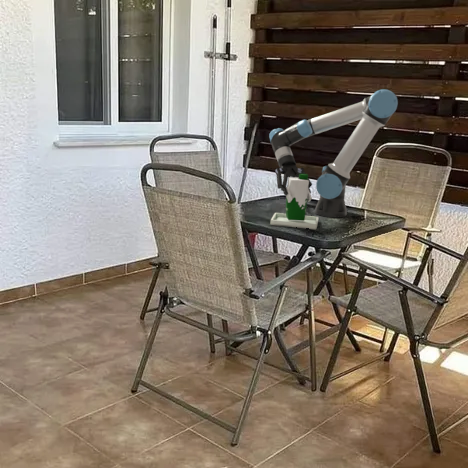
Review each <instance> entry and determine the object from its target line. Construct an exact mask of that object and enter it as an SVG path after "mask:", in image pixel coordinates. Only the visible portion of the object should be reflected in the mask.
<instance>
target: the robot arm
mask: <svg viewBox="0 0 468 468" xmlns="http://www.w3.org/2000/svg"><path fill="white" fill-rule="evenodd" d="M398 105H399V100H398V97H397V95H396V94H395V92H394V91H392V90H389V89H387V88H386V89H384V88H382V89H379V90H376V91H375V92H374V93H373V94H371V95H370V96H368V97H364V99H363V100H362V101H360V102H357V103H354V104H350V105H347V106H344V107H342V108H339V109H337V110H333V111H331V112H328V113H325V114H322V115H319V116H318V115H317V116H315V117H313V118H310V119H308V120H307V119H302V120H300V121H298V122H296V123H294V124H293V125H291V126H290V127H287V128H286V129H283V128H280V127H278V128H274V129H272V130H271V131H270V133H269V136H268V137H269V141H270V145H271V147H272V150H273V153H274V155H275V158H276V160H277V165H278V167H276V169H275V174H276V183H277V185H276V186H277V189H280V191H281V192H283V195H284V196H285V197H287V200H288V203H290V202H291V201H292V196H291V193H290V191H289V188H288V187H287V185H288V178H289V177H299V174H307V173H306V172H305V169H304V167H300V168H298V166H297V164H296V160H295V158H294V157H295V156H294V154H293V152H292V149H291V146H292V145H294V144H295V143H298V142H299V141H300V142H301V141H302V140H304V139H306V138H309V137H312V136H315V135H318V134H321V133H323V132H327V131H329V130H332V129H336V128H339V127H342V126H345V125H348V124H351V123H354V122H356V121H359V122H358V124H357V126H356V127H355V128H354V130H353V132H352V133H351V135H350V136H349V137H348V139H347V141H346V142H345V143H344V145H343V147H342V149H341V150H340V151H339V153H338V155H337V156H336V158H335V160H334V161H333V162H331V163H328V165H325V166H323V167H322V170H321V175H320V176H319V177H318V178H317V180H316V183H315V185H316V186H315V188H316V191H317V193H318V195H319V199H318V201H317V203H316V206H315V209H314V214H316V215H317V216H321V217H327V218H345V217H346V216H347V214H348V213H347V212H348V210H347V206H346V202H345V198H346V197H345V196H346V195H345V194H346V187H347V186H346V185H347V184H348V182H349V180H350V179H351V174H350V173H351V171H352V170H353V168H354V166H355V165H356V164H357V162H358V161H359V159H360V158H361V156H362V155H363V154H364V152H365V151H366V149H367V148H368V145H369V144H370V143H371V141H372V140H373V139H374V136H375V135H376V134H377V132H378V130H380V128H382V127H385V126H386V124H387V123H388V121H389V120H390V118H391V117H392V116H393V114H394V113H395V112H396V110H397V109H398ZM282 174H283V175H282ZM282 176H283V178H282ZM308 180H309V185H308V196H307V203H309V202H311V200H312V195H311V194H312V191H311V189H310V188H311V187H312V185H313V183H312V181H311V180H310V179H309V177H308Z"/></svg>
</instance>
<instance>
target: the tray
mask: <svg viewBox="0 0 468 468" xmlns="http://www.w3.org/2000/svg"><path fill="white" fill-rule="evenodd" d="M318 224H319V216H313V215H312V216H311V215H305V220H304V221H301V220H288V218H287V217H286V213H283V212H281V213H280V212H274V213H273V215H272V217H271V219H270V224H269V225H270V226H276V227H288V228H296V227H297V229H306V228H309V229H308V230H317V229H318V228H317V227H318Z"/></svg>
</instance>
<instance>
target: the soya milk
mask: <svg viewBox="0 0 468 468" xmlns="http://www.w3.org/2000/svg"><path fill="white" fill-rule="evenodd" d="M308 178H309V174H308V173H306V174H299V177H288V180H287V185H286V187H288V188H289V191H290V193H291V196H292V201H291V202H290V203H288V200H287V197H286V196H285V197H286V199H285V214H286V217H287V218H288V220H301V221H304V220H305V216H306V213H307V204H308V201H307V196H308V185H309V180H310V179H309V180H308Z"/></svg>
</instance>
